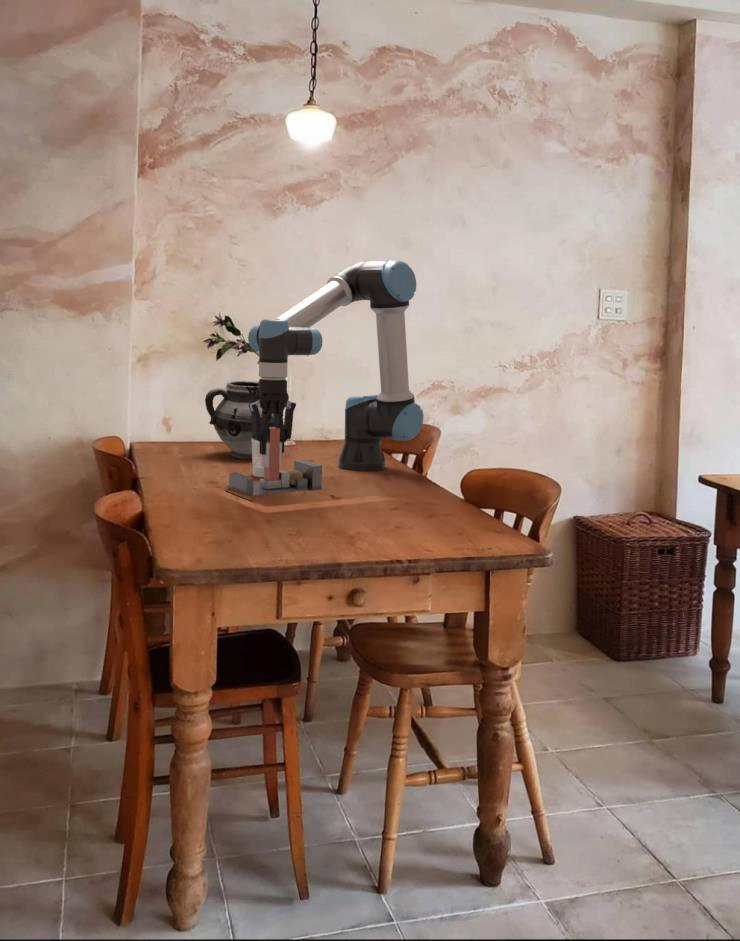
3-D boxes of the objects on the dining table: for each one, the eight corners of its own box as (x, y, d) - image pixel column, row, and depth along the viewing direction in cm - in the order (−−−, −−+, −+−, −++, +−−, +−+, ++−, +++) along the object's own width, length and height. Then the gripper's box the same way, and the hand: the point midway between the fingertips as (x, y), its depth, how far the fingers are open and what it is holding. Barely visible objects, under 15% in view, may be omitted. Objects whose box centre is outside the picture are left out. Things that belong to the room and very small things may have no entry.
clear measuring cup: (273, 484, 264) (274, 442, 262) (245, 481, 265) (245, 440, 263) (283, 478, 273) (284, 437, 271) (256, 476, 275) (257, 436, 273)
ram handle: (281, 484, 254) (282, 426, 251) (289, 486, 251) (290, 428, 248) (259, 486, 250) (260, 427, 248) (267, 488, 247) (268, 429, 244)
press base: (302, 484, 264) (302, 458, 263) (328, 493, 253) (329, 466, 251) (225, 491, 250) (225, 464, 249) (249, 501, 239) (250, 472, 238)
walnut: (297, 483, 257) (298, 468, 256) (306, 486, 254) (306, 470, 253) (284, 484, 255) (284, 469, 254) (292, 487, 251) (292, 471, 250)
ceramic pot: (276, 450, 326) (277, 379, 322) (299, 460, 306) (301, 384, 302) (195, 453, 314) (196, 379, 310) (214, 464, 294) (215, 385, 289)
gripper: (292, 376, 253) (290, 461, 257) (239, 377, 243) (238, 465, 247) (306, 379, 247) (304, 466, 251) (252, 380, 237) (251, 470, 241)
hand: (271, 465), depth 249 cm, fingers closed on ram handle, 3 cm apart
